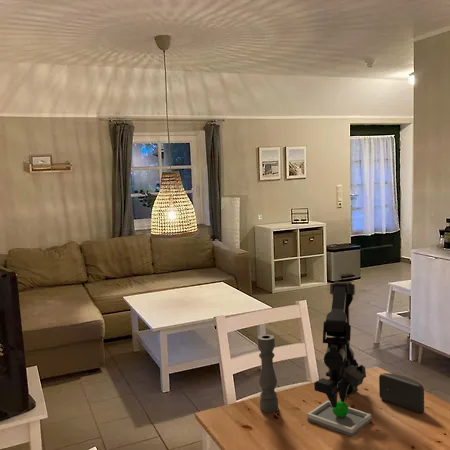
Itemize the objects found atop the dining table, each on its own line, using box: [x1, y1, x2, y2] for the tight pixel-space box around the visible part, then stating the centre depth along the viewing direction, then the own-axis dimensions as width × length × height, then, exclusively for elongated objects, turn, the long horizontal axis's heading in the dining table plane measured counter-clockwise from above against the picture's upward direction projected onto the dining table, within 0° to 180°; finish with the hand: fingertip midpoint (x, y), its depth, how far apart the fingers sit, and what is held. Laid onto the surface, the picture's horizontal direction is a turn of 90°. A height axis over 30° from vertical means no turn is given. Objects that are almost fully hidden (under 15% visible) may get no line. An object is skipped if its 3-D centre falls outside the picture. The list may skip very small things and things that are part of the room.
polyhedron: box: [333, 400, 349, 417], centre depth 159 cm, size 5×5×5 cm
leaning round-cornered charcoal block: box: [378, 372, 425, 414], centre depth 167 cm, size 16×5×9 cm, turn 39°
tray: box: [306, 399, 372, 437], centre depth 159 cm, size 16×12×2 cm
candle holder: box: [257, 334, 279, 413], centre depth 169 cm, size 6×6×25 cm
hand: (338, 404), depth 159 cm, fingers open, 5 cm apart
